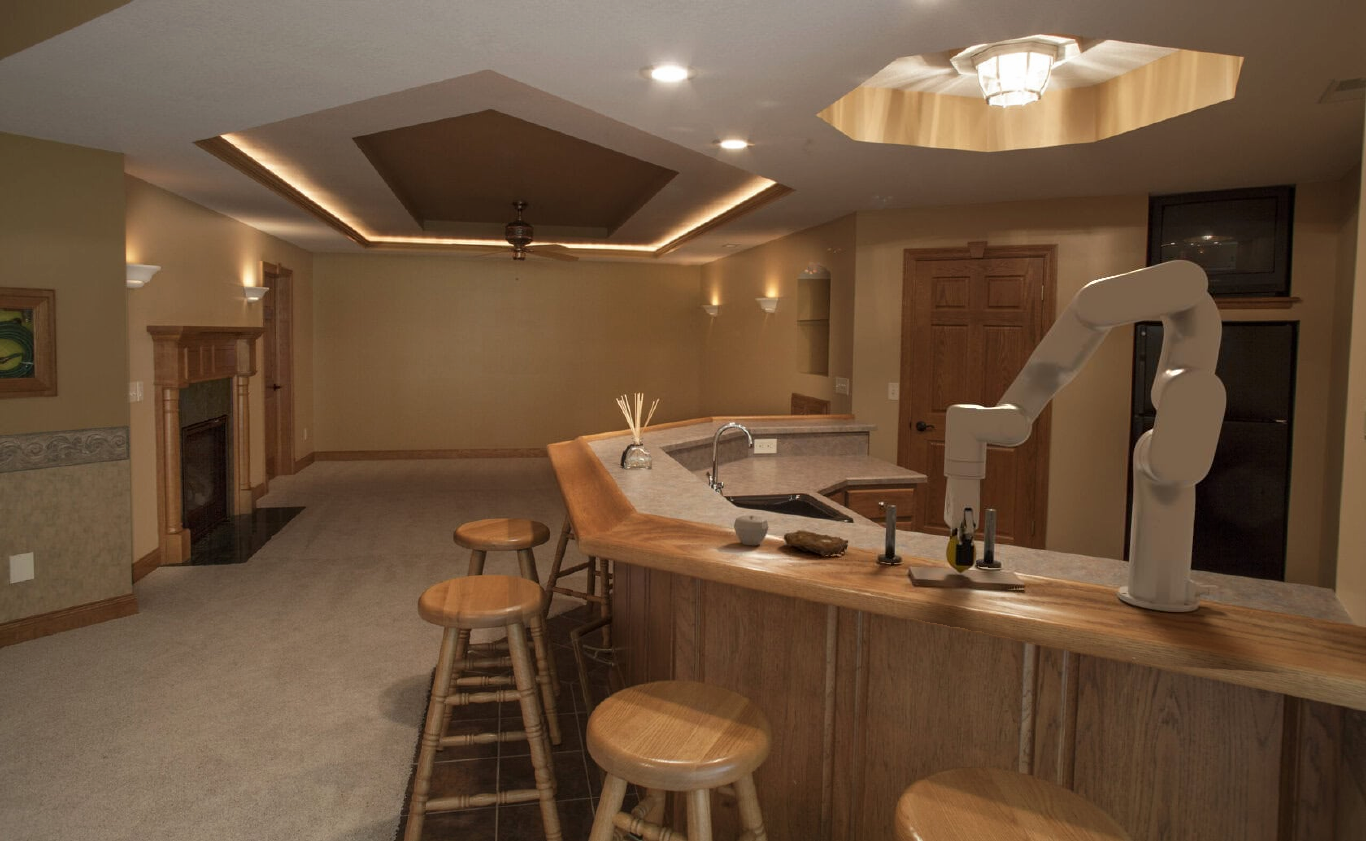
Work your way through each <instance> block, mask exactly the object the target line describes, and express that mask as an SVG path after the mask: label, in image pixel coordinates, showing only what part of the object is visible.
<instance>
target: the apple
mask: <svg viewBox="0 0 1366 841" xmlns="http://www.w3.org/2000/svg"><path fill="white" fill-rule="evenodd" d="M733 528H734V531H735V536H736V537H737V538H738V541H740V542H741V544H743V545H745V546H758V545H760V544H761V543H762V542H763V541H764V539H765V538H766V536H767V533H768V530H769V523H768V520H767V519H766V518H764V517H763V516H759V515H751V514H750V515H741V516H738V517H736V518H735V521H734V524H733Z"/></svg>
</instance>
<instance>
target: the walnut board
mask: <svg viewBox="0 0 1366 841" xmlns="http://www.w3.org/2000/svg"><path fill="white" fill-rule="evenodd" d="M908 574H909V575H910V578H911V580H912V582H913V584H914V585H915V586H925V587H926V586H927V587H928V586H929V587H944V588H965V589H986V590H999V589H1014V588H1015V589H1017V588H1018V589H1019V588H1025V589H1026V584H1025V583H1024V582H1023V580H1021V579H1020V577H1018V576H1017V574H1016V573H1015V572H1014V571H1007V570H1006V571H1005V570H985V569H971V568H969V569H968V570H965V571H963V572H962V573H959V572H958V571H957V570H956V569H954V568H952V567H951V568H950V567H949V568H947V567H931V566H930V567H928V566H910V565H909V566H908Z"/></svg>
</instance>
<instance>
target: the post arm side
mask: <svg viewBox="0 0 1366 841" xmlns="http://www.w3.org/2000/svg"><path fill="white" fill-rule="evenodd" d="M996 519H997V509H994V508H993V509H992V508H987V509H985V520H984V522H985V523H984V539H983V540H984V543H983V558H981V559H980V558H979V559H976V560H975V567H976V566H979V567H988V568H1001V569H1002V562H1001V561H998V560H995V559H994V558H995V544H996V541H995V540H996V521H997V520H996Z"/></svg>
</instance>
